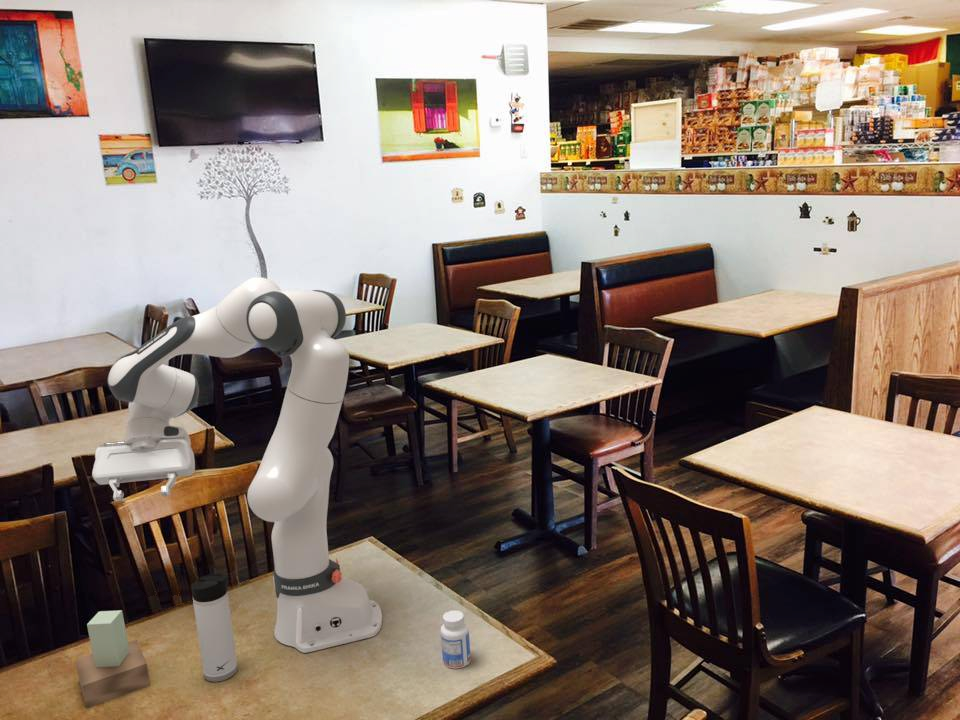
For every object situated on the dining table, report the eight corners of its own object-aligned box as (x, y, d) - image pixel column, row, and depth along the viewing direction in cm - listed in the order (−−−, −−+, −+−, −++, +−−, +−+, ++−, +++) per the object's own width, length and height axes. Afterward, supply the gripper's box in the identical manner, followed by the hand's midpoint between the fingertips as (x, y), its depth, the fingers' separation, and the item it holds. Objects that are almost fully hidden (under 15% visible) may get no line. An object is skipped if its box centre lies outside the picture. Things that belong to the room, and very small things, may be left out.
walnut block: (140, 662, 156) (136, 639, 154) (150, 687, 147) (146, 663, 146) (79, 682, 150) (75, 659, 149) (86, 710, 142) (82, 685, 140)
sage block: (129, 652, 150) (122, 610, 148) (119, 666, 146) (110, 623, 144) (107, 653, 150) (98, 611, 148) (95, 667, 146) (86, 624, 144)
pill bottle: (457, 649, 154) (454, 604, 151) (476, 660, 150) (473, 614, 148) (436, 662, 150) (433, 616, 148) (455, 673, 146) (452, 626, 144)
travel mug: (229, 683, 146) (215, 587, 142) (197, 681, 148) (183, 585, 143) (245, 664, 152) (233, 570, 148) (214, 661, 154) (201, 569, 149)
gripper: (91, 436, 165) (83, 497, 158) (191, 427, 168) (188, 486, 161) (101, 450, 171) (94, 509, 163) (198, 441, 173) (195, 498, 166)
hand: (141, 497), depth 162 cm, fingers open, 8 cm apart
